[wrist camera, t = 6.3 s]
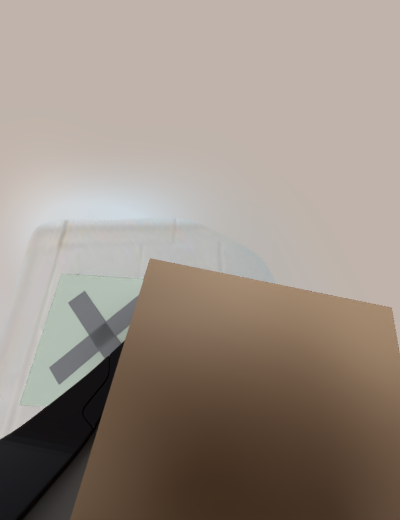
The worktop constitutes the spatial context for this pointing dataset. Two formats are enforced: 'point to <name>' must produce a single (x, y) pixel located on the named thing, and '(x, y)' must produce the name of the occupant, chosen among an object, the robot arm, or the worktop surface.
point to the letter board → (79, 333)
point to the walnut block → (247, 406)
